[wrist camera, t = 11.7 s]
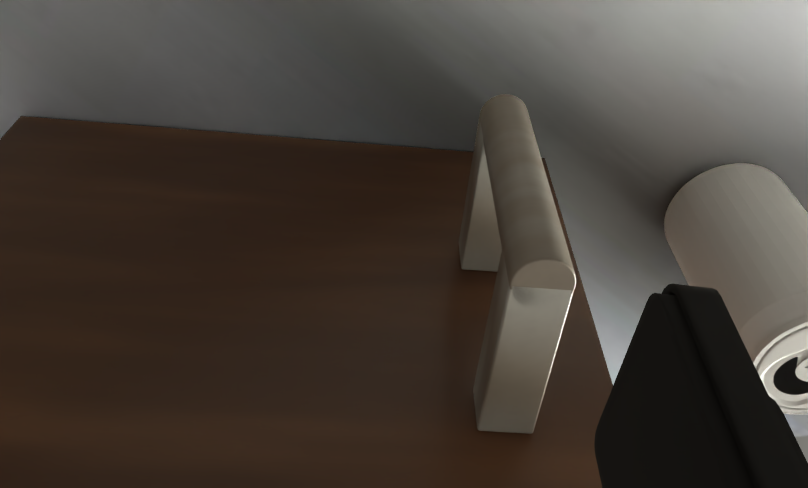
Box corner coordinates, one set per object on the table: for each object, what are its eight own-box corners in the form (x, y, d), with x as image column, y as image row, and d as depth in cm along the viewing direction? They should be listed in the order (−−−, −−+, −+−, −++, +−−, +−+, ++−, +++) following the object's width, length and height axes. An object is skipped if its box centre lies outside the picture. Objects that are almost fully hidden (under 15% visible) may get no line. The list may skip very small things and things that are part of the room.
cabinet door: (-12, -28, 33) (-577, 359, 14) (575, 24, 35) (787, 442, 15) (24, 133, 38) (-363, 589, 19) (541, 174, 39) (671, 637, 20)
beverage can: (635, 210, 41) (707, 374, 31) (739, 131, 38) (854, 283, 28) (704, 273, 43) (791, 443, 34) (807, 203, 40) (933, 366, 31)
